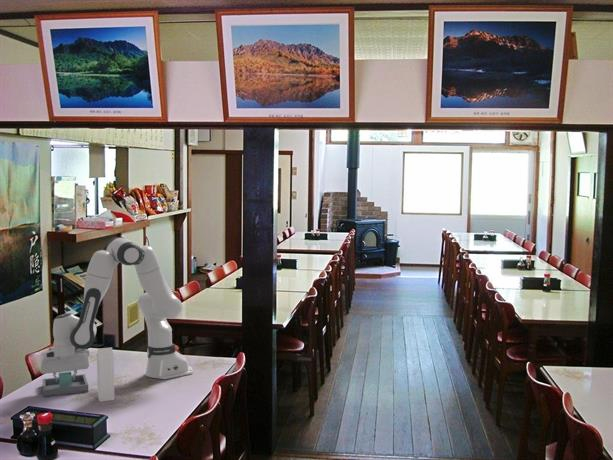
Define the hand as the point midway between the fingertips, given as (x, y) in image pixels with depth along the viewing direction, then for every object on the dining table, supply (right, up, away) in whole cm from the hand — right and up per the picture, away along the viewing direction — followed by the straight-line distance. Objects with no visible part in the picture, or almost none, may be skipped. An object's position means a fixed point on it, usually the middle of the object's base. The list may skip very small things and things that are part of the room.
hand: (65, 380), depth 273 cm
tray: (0, -4, 0) cm, 4 cm away
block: (0, -2, 0) cm, 2 cm away
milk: (+22, -5, -11) cm, 25 cm away
